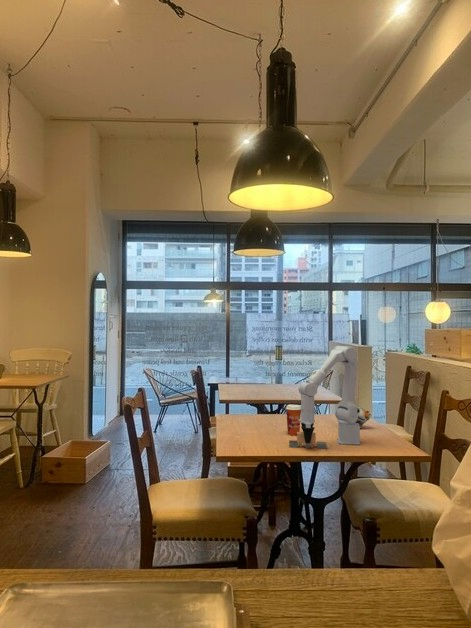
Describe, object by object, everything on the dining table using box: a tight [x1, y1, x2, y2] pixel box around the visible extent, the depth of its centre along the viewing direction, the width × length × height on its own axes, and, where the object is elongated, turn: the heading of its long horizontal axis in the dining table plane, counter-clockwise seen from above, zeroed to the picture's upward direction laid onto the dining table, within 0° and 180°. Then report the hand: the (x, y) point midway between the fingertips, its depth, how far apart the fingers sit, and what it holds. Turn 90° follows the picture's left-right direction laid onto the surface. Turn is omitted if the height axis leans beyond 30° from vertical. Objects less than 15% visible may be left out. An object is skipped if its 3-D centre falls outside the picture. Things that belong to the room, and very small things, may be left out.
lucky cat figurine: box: [356, 406, 372, 428], centre depth 229 cm, size 15×12×14 cm
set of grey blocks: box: [288, 439, 327, 450], centre depth 190 cm, size 16×4×2 cm, turn 82°
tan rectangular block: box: [296, 431, 317, 448], centre depth 190 cm, size 8×3×6 cm, turn 82°
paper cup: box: [285, 404, 301, 437], centre depth 213 cm, size 8×8×14 cm
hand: (307, 441), depth 190 cm, fingers open, 6 cm apart
